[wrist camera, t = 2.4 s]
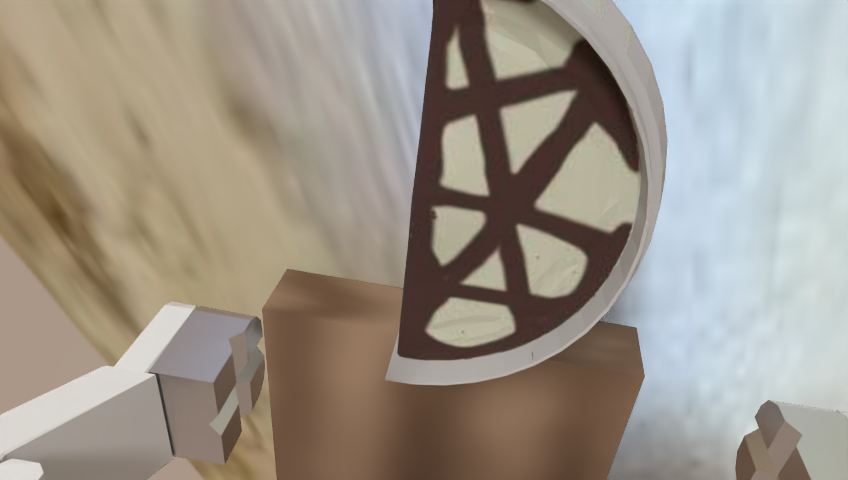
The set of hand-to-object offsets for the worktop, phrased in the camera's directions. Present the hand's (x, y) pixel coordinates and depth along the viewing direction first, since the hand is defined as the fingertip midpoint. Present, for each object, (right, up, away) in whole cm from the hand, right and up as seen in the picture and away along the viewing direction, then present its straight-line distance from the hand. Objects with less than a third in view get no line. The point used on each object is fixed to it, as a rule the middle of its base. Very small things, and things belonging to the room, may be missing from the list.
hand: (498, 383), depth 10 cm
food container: (+3, +8, +13) cm, 15 cm away
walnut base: (0, -7, +22) cm, 23 cm away
